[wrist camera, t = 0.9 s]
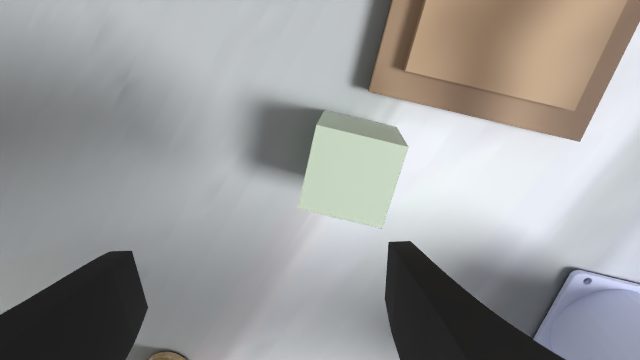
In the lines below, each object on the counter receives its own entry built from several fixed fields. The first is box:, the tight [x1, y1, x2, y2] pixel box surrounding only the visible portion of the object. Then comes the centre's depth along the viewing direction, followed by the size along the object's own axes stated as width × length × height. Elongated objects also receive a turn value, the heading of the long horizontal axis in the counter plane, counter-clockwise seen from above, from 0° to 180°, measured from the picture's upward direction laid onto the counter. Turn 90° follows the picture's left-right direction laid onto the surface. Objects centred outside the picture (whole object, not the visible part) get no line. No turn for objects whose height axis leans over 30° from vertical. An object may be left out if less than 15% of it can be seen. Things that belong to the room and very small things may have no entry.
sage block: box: [298, 110, 408, 229], centre depth 20 cm, size 4×4×5 cm
